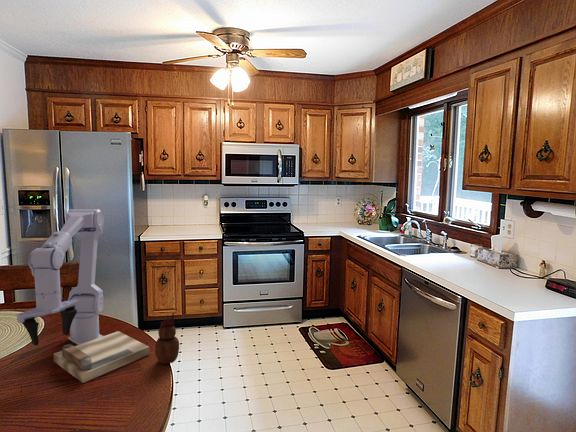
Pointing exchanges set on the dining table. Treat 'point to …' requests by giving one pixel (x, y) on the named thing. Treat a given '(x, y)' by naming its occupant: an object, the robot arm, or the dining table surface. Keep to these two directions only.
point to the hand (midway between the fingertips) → (51, 339)
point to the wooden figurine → (167, 342)
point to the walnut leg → (77, 357)
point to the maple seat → (104, 355)
